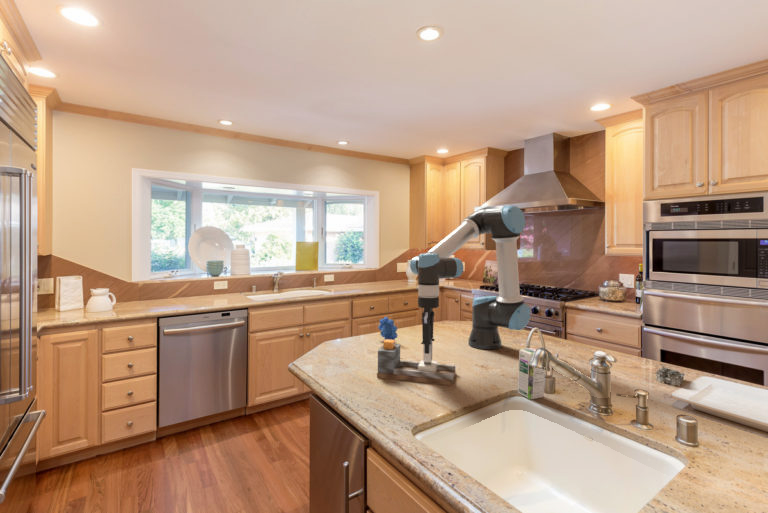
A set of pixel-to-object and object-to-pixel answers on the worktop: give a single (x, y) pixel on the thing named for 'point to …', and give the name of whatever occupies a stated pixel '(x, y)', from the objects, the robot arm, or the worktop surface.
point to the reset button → (389, 344)
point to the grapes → (388, 329)
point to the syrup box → (529, 376)
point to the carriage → (428, 364)
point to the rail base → (411, 369)
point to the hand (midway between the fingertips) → (427, 360)
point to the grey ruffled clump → (670, 376)
